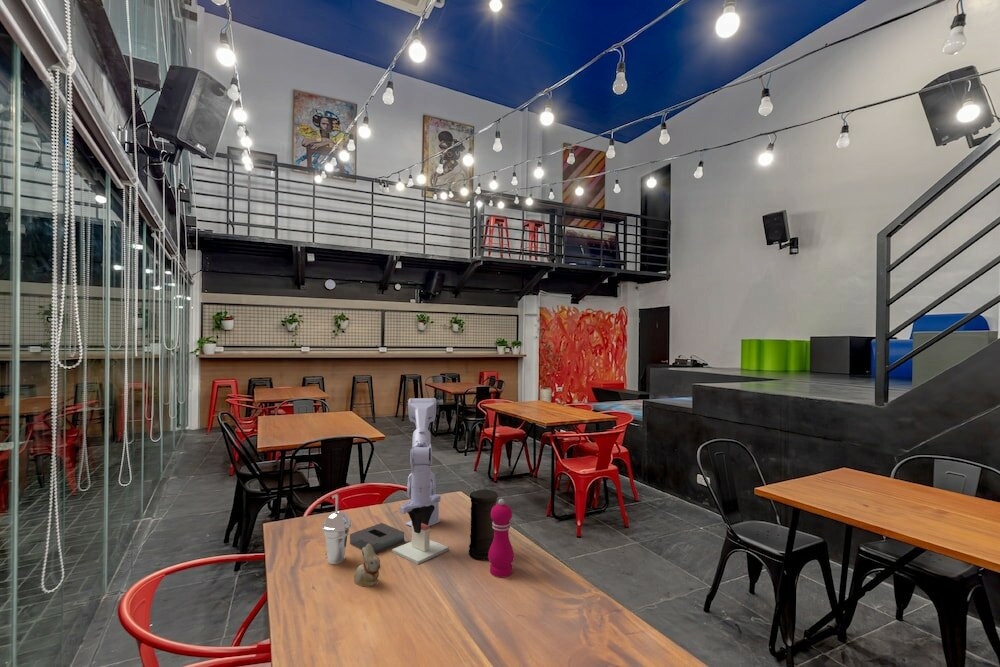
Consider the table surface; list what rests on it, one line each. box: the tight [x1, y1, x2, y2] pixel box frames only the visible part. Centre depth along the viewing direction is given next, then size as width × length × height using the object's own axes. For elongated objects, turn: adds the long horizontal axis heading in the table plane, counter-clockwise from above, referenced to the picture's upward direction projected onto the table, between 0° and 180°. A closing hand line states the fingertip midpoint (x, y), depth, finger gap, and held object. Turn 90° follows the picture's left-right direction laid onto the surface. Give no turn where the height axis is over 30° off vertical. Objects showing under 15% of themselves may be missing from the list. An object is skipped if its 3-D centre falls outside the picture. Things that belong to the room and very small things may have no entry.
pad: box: [391, 539, 449, 565], centre depth 137 cm, size 12×12×1 cm
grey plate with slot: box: [349, 522, 405, 555], centre depth 143 cm, size 12×12×3 cm
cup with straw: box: [320, 493, 353, 565], centre depth 131 cm, size 8×9×20 cm
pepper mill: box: [488, 498, 515, 578], centre depth 125 cm, size 7×7×20 cm
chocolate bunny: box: [353, 544, 381, 588], centre depth 119 cm, size 6×8×10 cm
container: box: [468, 489, 499, 561], centre depth 136 cm, size 9×9×18 cm
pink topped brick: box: [411, 523, 431, 552], centre depth 138 cm, size 2×6×7 cm, turn 50°
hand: (420, 531), depth 138 cm, fingers closed on pink topped brick, 2 cm apart
